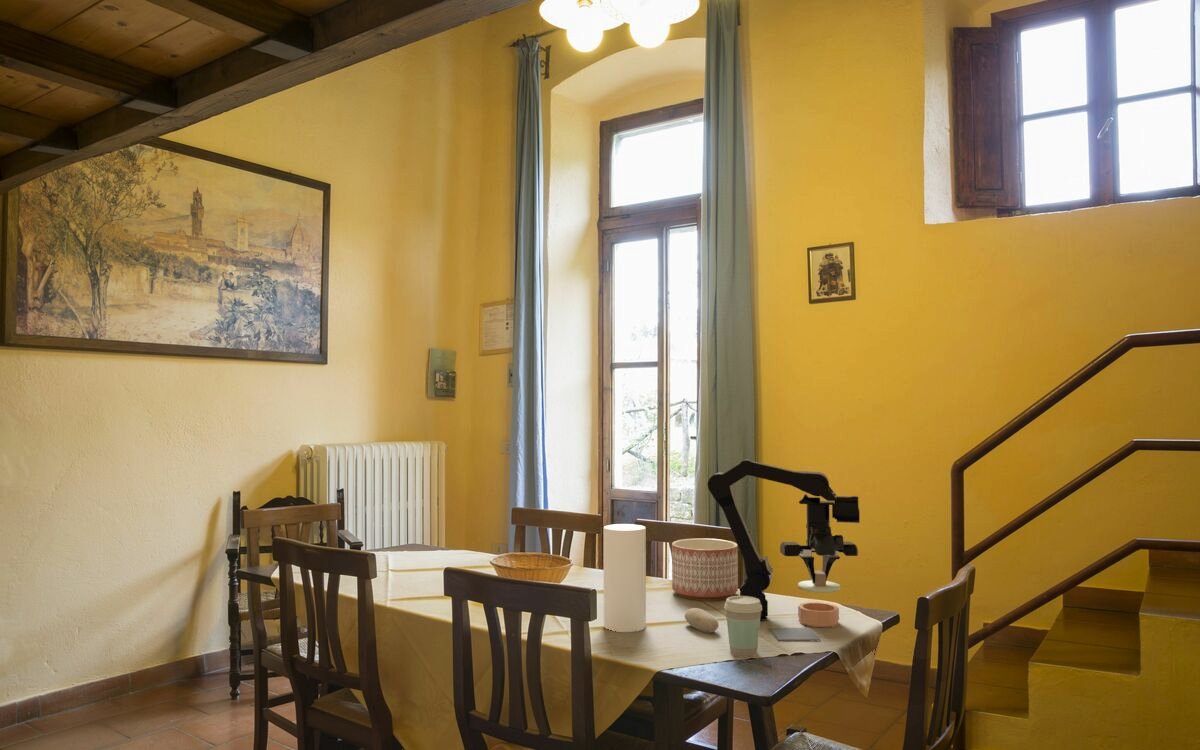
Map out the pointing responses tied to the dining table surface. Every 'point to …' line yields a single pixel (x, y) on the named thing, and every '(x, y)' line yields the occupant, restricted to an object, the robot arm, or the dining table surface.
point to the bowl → (818, 614)
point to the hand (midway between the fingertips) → (818, 582)
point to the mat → (794, 634)
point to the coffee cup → (743, 624)
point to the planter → (705, 568)
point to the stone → (701, 620)
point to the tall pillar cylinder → (625, 577)
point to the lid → (819, 584)
